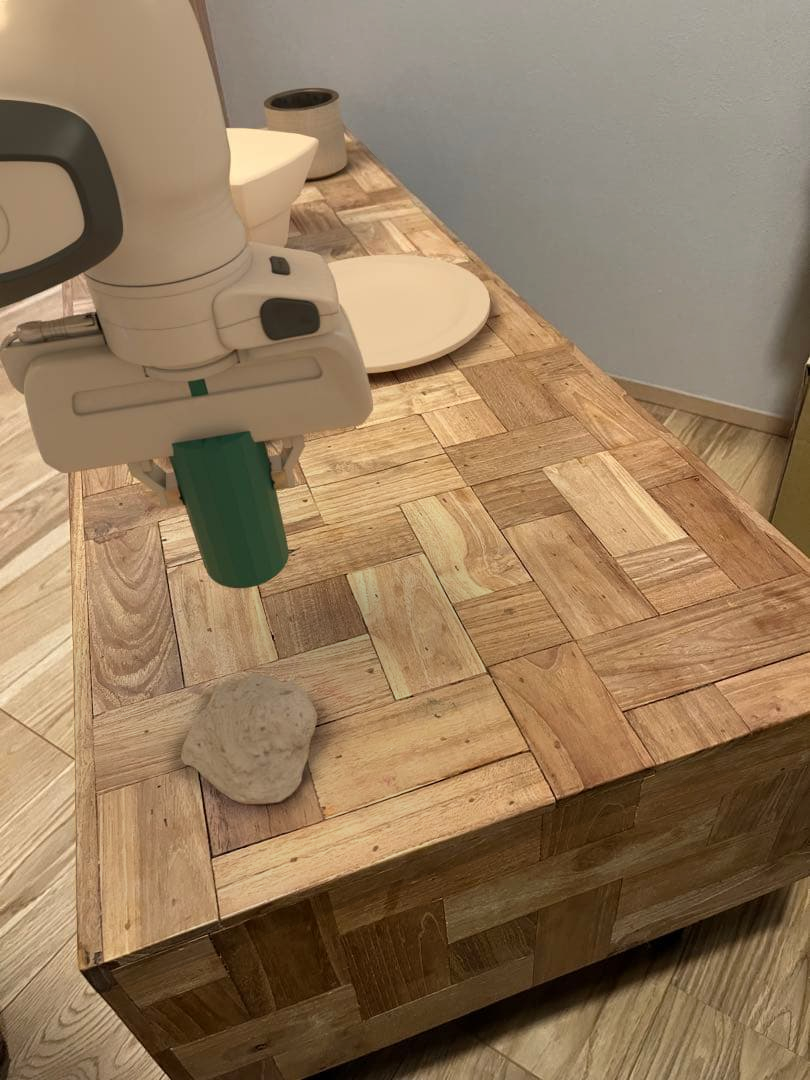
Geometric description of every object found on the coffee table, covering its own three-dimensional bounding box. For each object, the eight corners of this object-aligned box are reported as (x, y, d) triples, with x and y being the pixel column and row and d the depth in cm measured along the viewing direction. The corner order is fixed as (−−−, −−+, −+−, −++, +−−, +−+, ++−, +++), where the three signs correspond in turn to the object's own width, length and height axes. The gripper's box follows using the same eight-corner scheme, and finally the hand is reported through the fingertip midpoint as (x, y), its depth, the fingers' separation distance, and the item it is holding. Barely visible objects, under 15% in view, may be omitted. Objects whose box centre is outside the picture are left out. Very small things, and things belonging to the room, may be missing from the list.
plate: (214, 367, 95) (209, 349, 93) (320, 262, 113) (317, 246, 112) (444, 402, 86) (443, 383, 84) (518, 282, 104) (518, 265, 103)
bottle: (206, 595, 57) (141, 398, 46) (205, 538, 61) (145, 346, 50) (292, 579, 57) (248, 382, 47) (285, 524, 62) (243, 332, 51)
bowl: (266, 296, 107) (244, 186, 97) (156, 273, 115) (125, 169, 105) (344, 239, 118) (331, 136, 109) (239, 222, 126) (217, 124, 117)
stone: (167, 679, 58) (297, 633, 57) (198, 715, 61) (322, 672, 60) (157, 802, 51) (306, 752, 50) (193, 836, 54) (335, 789, 53)
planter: (363, 165, 141) (355, 93, 133) (308, 188, 134) (297, 114, 127) (314, 152, 147) (304, 83, 140) (260, 174, 141) (246, 103, 134)
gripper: (-25, 357, 42) (67, 551, 52) (365, 299, 44) (386, 496, 54) (-4, 302, 47) (77, 490, 56) (349, 252, 49) (370, 441, 58)
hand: (230, 492), depth 55 cm, fingers closed on bottle, 6 cm apart
